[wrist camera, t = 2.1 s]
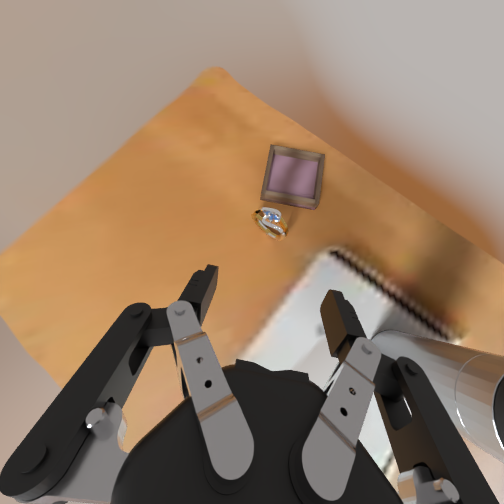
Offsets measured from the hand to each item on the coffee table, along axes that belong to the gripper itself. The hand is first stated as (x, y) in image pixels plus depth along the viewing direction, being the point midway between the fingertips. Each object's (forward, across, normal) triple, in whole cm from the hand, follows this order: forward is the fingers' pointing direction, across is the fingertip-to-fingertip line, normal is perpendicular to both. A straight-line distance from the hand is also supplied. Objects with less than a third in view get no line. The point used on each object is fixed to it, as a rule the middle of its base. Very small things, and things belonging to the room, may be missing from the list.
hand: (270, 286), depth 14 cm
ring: (+23, 0, +7) cm, 24 cm away
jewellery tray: (+32, -3, -2) cm, 32 cm away
